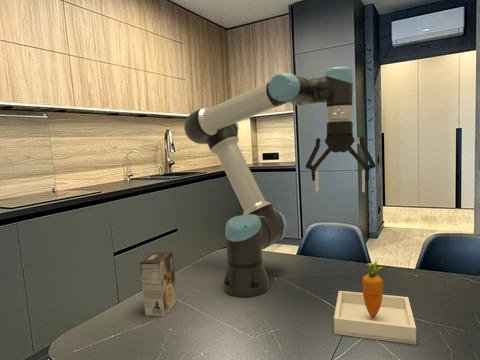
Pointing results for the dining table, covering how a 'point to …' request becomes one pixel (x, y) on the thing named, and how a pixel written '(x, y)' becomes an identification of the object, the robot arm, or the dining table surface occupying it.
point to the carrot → (372, 289)
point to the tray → (375, 318)
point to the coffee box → (158, 283)
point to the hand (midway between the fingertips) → (339, 191)
